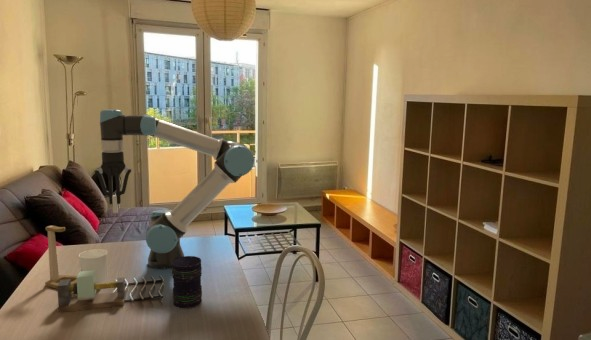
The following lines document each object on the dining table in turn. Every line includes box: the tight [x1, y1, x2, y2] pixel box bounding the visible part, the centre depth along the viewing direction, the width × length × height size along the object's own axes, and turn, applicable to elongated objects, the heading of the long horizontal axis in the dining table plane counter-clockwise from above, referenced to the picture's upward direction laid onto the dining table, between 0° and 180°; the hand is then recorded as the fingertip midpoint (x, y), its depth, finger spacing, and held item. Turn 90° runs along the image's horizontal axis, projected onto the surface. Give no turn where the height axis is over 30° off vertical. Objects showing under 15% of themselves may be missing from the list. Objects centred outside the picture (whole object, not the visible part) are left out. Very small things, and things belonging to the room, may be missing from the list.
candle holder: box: [78, 248, 108, 283], centre depth 159 cm, size 10×10×12 cm
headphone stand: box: [44, 225, 77, 290], centre depth 158 cm, size 10×11×22 cm
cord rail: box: [56, 277, 127, 313], centre depth 144 cm, size 20×8×8 cm, turn 107°
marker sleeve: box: [76, 270, 98, 298], centre depth 143 cm, size 5×5×7 cm
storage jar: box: [171, 255, 203, 310], centre depth 146 cm, size 10×10×15 cm
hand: (115, 212), depth 162 cm, fingers closed
